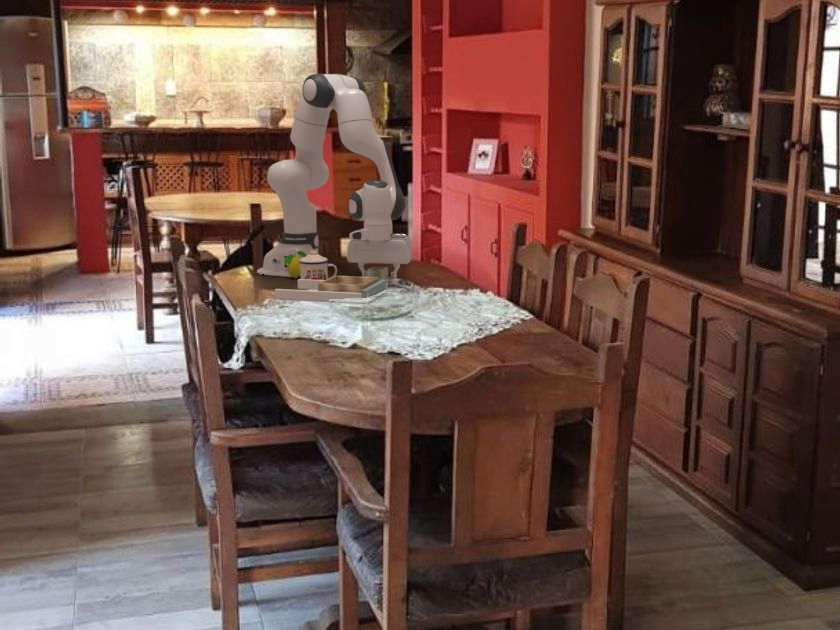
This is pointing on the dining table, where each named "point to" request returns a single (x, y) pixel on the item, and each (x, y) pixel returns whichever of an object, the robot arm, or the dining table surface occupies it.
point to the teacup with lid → (315, 267)
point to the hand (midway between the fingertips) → (379, 277)
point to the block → (378, 272)
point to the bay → (326, 292)
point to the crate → (347, 284)
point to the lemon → (294, 264)
